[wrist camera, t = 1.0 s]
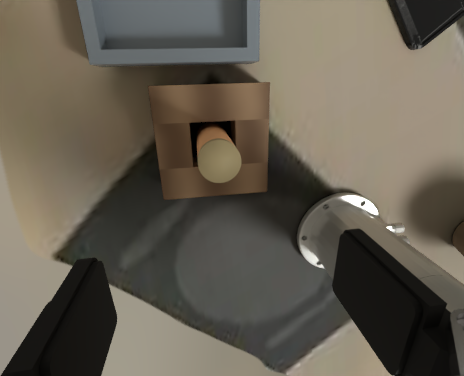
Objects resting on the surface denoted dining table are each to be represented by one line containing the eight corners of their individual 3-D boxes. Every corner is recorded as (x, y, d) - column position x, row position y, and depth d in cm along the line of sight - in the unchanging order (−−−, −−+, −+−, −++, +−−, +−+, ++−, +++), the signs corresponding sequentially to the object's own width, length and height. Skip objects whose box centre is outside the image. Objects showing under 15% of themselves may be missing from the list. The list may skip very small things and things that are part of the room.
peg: (225, 121, 31) (241, 139, 21) (226, 150, 32) (241, 181, 22) (195, 122, 31) (196, 142, 20) (197, 152, 32) (199, 184, 22)
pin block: (260, 82, 30) (269, 82, 26) (259, 180, 34) (267, 191, 31) (153, 85, 29) (147, 86, 25) (167, 186, 33) (163, 200, 29)
